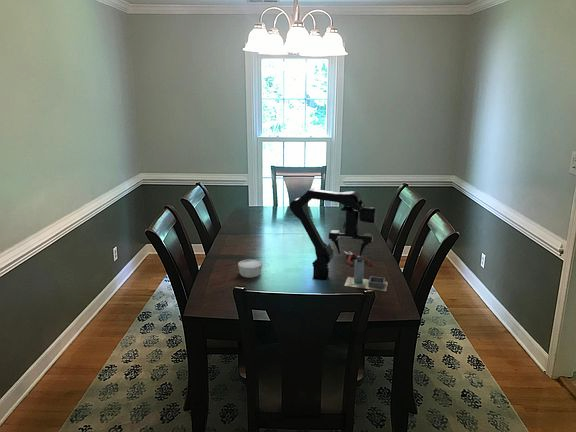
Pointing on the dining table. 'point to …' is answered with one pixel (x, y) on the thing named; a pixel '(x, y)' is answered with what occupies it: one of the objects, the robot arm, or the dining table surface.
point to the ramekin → (250, 268)
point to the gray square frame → (376, 282)
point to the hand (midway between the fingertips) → (349, 254)
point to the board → (350, 279)
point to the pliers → (351, 255)
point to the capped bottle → (359, 270)
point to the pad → (358, 284)
